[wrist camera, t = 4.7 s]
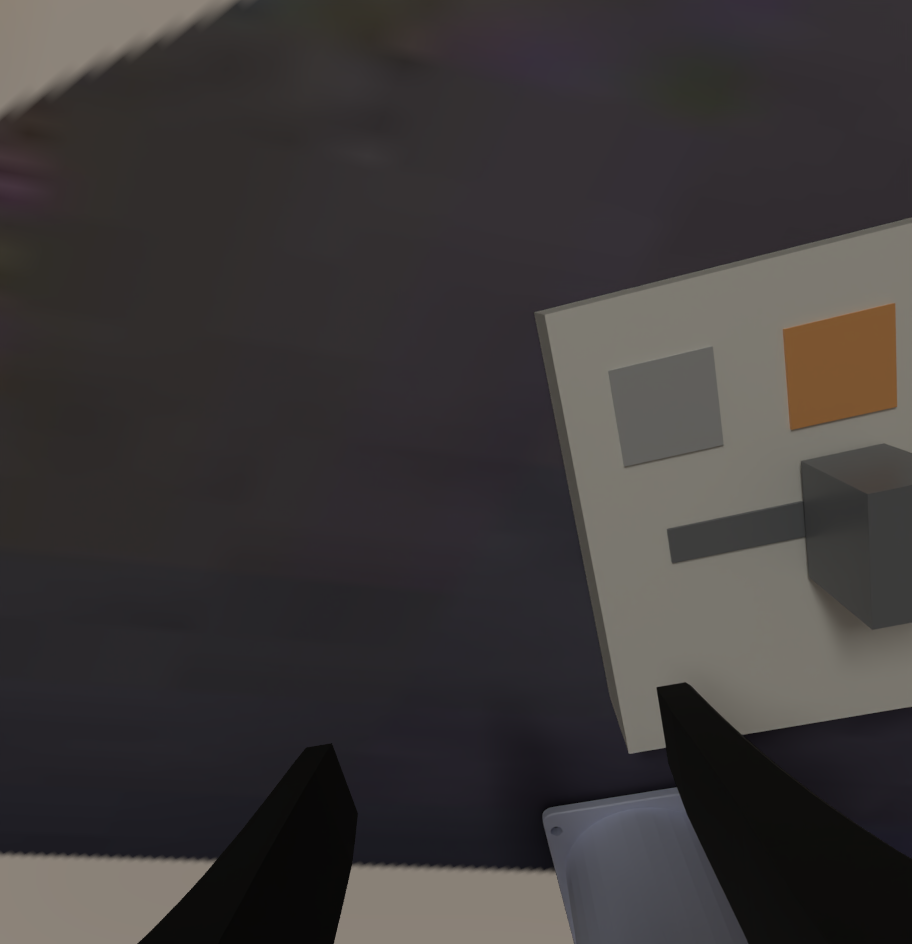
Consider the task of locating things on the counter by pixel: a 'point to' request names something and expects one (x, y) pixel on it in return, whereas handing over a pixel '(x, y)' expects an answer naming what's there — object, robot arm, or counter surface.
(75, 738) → the counter surface
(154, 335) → the counter surface
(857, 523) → the handle
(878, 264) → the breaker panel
